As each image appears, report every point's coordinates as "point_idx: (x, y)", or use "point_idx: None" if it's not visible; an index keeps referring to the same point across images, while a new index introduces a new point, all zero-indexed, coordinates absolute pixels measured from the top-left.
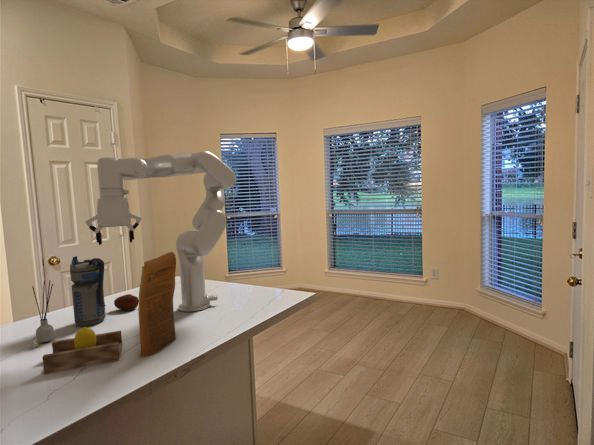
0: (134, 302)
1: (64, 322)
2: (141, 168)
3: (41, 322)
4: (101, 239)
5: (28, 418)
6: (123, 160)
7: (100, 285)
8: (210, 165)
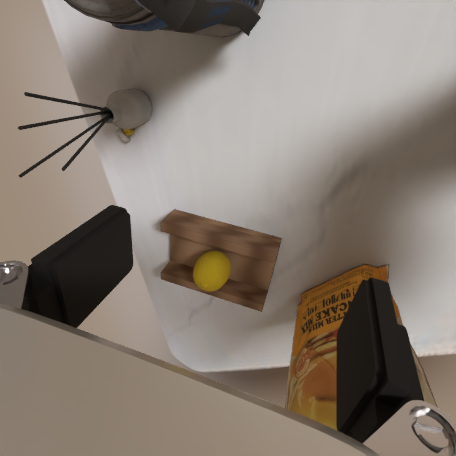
0: None
1: None
2: None
3: (107, 120)
4: (107, 251)
5: (180, 341)
6: None
7: (220, 21)
8: None
